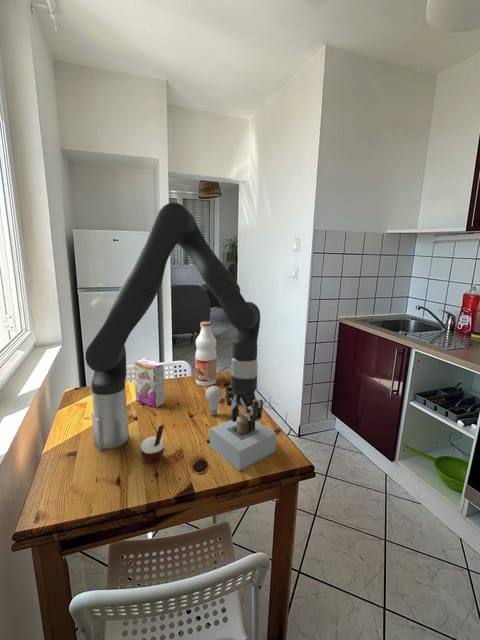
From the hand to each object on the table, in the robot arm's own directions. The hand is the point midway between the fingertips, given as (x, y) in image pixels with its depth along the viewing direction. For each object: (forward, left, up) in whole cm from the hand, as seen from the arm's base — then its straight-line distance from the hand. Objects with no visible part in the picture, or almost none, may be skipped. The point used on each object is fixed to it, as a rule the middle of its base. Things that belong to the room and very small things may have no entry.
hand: (242, 425), depth 93 cm
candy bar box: (-9, +45, -8) cm, 47 cm away
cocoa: (-23, +12, -8) cm, 27 cm away
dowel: (0, 0, -8) cm, 8 cm away
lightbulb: (+5, +22, -8) cm, 24 cm away
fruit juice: (+19, +48, -8) cm, 52 cm away
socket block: (0, 0, -8) cm, 8 cm away
